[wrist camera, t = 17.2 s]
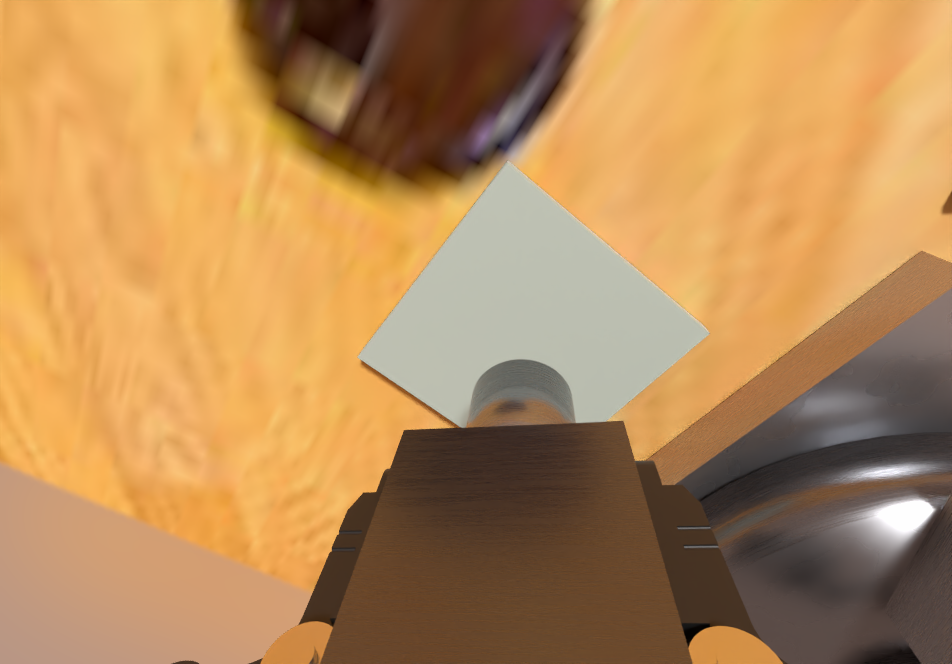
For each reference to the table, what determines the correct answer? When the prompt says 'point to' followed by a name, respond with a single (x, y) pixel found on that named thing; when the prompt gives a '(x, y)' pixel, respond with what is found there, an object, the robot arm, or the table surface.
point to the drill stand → (833, 386)
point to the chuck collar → (846, 551)
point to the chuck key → (511, 542)
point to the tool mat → (530, 309)
